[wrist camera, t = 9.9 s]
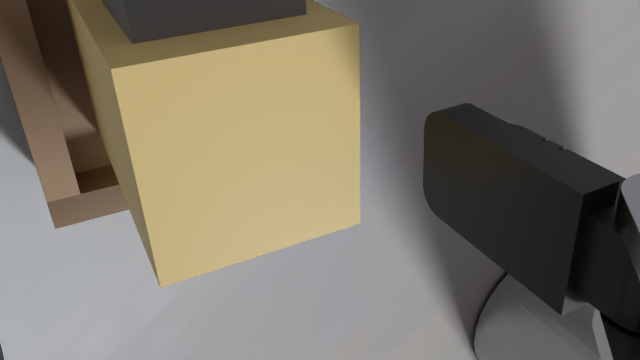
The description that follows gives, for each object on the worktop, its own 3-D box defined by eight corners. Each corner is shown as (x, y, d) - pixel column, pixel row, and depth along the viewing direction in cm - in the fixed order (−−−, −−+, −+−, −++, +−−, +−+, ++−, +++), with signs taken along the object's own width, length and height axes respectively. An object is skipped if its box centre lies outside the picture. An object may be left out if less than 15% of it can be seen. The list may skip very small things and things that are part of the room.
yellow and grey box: (240, 102, 17) (360, 223, 12) (99, 133, 16) (160, 287, 10) (217, -102, 14) (360, -68, 9) (43, -88, 13) (86, -36, 8)
